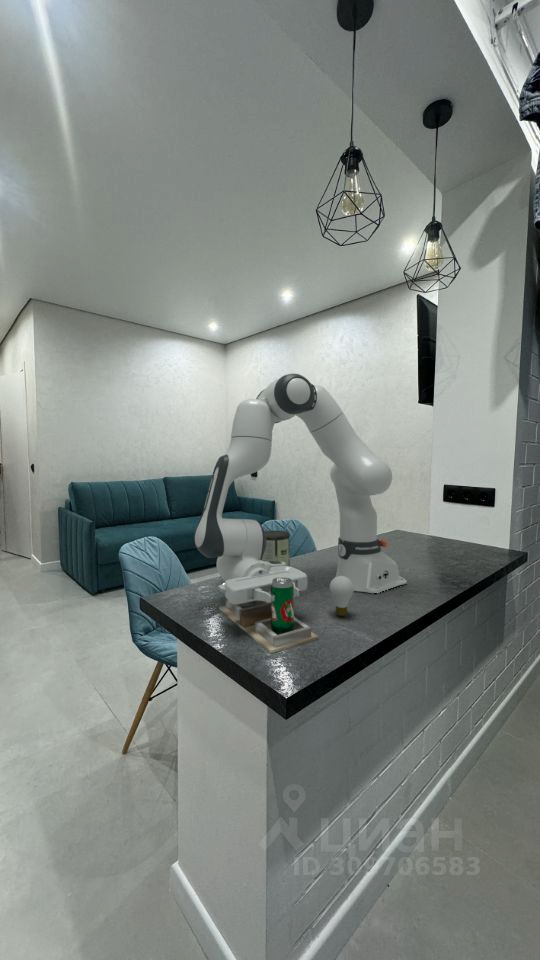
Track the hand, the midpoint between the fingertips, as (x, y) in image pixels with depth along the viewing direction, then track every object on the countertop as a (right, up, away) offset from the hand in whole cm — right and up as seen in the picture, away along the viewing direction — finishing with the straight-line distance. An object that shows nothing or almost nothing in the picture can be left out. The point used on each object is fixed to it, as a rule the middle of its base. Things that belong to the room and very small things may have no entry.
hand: (284, 596), depth 85 cm
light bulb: (+14, -9, +12) cm, 21 cm away
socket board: (-5, -9, +8) cm, 13 cm away
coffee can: (-2, -7, +44) cm, 45 cm away
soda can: (0, -9, +1) cm, 9 cm away
